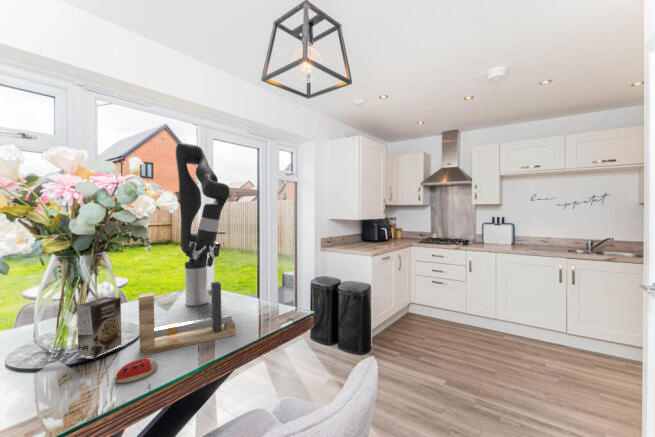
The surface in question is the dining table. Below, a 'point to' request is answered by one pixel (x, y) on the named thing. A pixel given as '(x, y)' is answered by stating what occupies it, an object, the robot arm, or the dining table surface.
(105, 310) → the coffee box
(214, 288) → the dark gray slab
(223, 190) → the robot arm
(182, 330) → the silver metal bar
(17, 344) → the dining table surface
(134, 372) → the ladybug figurine
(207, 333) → the wooden track with post
